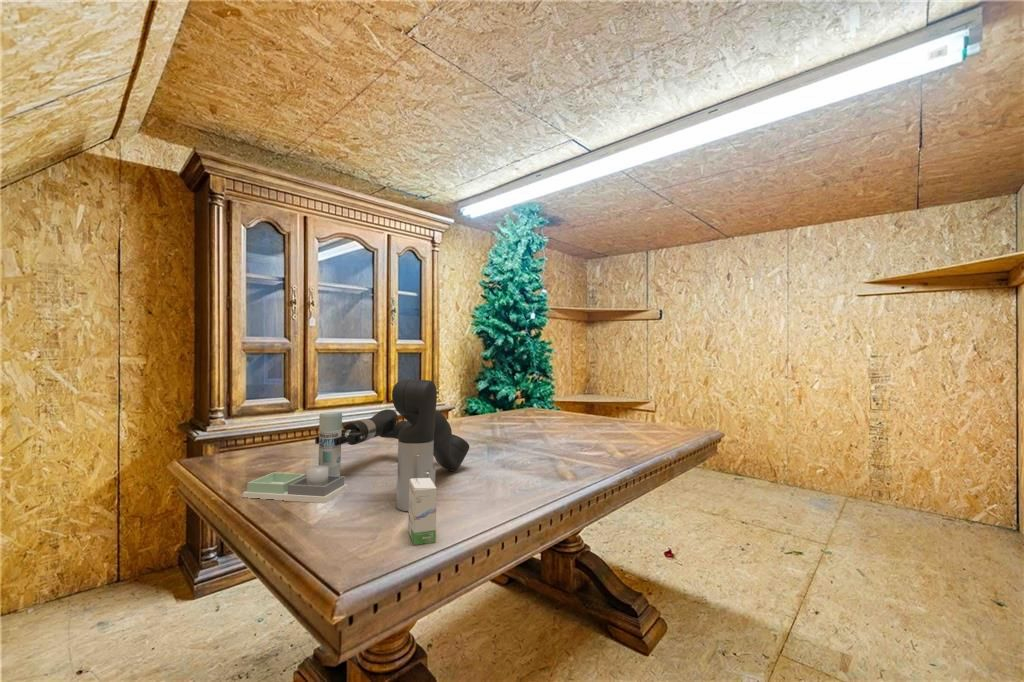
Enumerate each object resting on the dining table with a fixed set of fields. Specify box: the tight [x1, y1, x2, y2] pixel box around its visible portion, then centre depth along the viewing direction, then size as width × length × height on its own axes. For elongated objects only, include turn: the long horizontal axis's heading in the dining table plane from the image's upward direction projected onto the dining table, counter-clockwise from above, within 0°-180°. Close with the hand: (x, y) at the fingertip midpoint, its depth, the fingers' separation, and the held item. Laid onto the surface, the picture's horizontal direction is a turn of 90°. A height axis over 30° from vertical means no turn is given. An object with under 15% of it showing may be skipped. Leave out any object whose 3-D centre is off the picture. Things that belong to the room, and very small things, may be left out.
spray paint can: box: [318, 411, 343, 476], centre depth 134 cm, size 6×6×20 cm
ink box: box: [407, 478, 438, 546], centre depth 95 cm, size 8×5×12 cm, turn 21°
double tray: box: [242, 464, 349, 504], centre depth 122 cm, size 24×12×8 cm, turn 83°
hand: (325, 441), depth 132 cm, fingers closed on spray paint can, 6 cm apart
